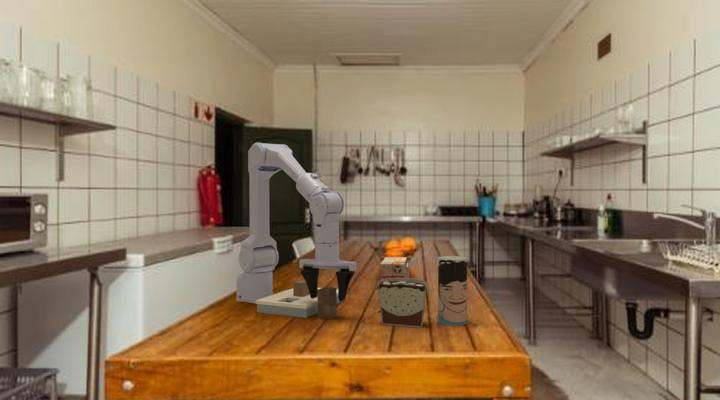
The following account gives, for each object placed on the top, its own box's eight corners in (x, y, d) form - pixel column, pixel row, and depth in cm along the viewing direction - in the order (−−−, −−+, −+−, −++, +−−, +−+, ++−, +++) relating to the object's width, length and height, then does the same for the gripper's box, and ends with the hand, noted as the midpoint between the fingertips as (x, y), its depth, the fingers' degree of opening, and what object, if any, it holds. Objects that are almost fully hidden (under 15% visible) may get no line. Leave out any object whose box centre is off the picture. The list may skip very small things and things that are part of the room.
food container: (433, 321, 123) (433, 279, 123) (428, 328, 117) (428, 283, 117) (383, 317, 127) (383, 276, 127) (376, 323, 121) (375, 280, 121)
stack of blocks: (388, 293, 156) (388, 252, 156) (409, 294, 155) (409, 252, 155) (380, 310, 135) (379, 262, 135) (404, 311, 134) (404, 263, 134)
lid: (255, 303, 130) (255, 286, 130) (299, 288, 149) (298, 273, 148) (306, 308, 124) (306, 290, 124) (345, 292, 142) (345, 277, 142)
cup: (436, 324, 120) (435, 259, 120) (440, 317, 127) (440, 255, 126) (465, 326, 118) (465, 260, 118) (468, 319, 125) (468, 256, 124)
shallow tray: (257, 315, 130) (257, 303, 130) (299, 299, 148) (299, 289, 148) (306, 321, 124) (305, 308, 124) (343, 303, 142) (343, 292, 142)
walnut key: (317, 321, 124) (317, 289, 124) (325, 317, 128) (325, 286, 128) (328, 322, 123) (328, 290, 123) (336, 318, 127) (336, 287, 126)
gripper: (292, 243, 125) (293, 299, 125) (347, 245, 119) (347, 305, 119) (307, 240, 131) (308, 294, 131) (360, 242, 125) (360, 298, 125)
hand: (327, 299), depth 126 cm, fingers open, 7 cm apart
